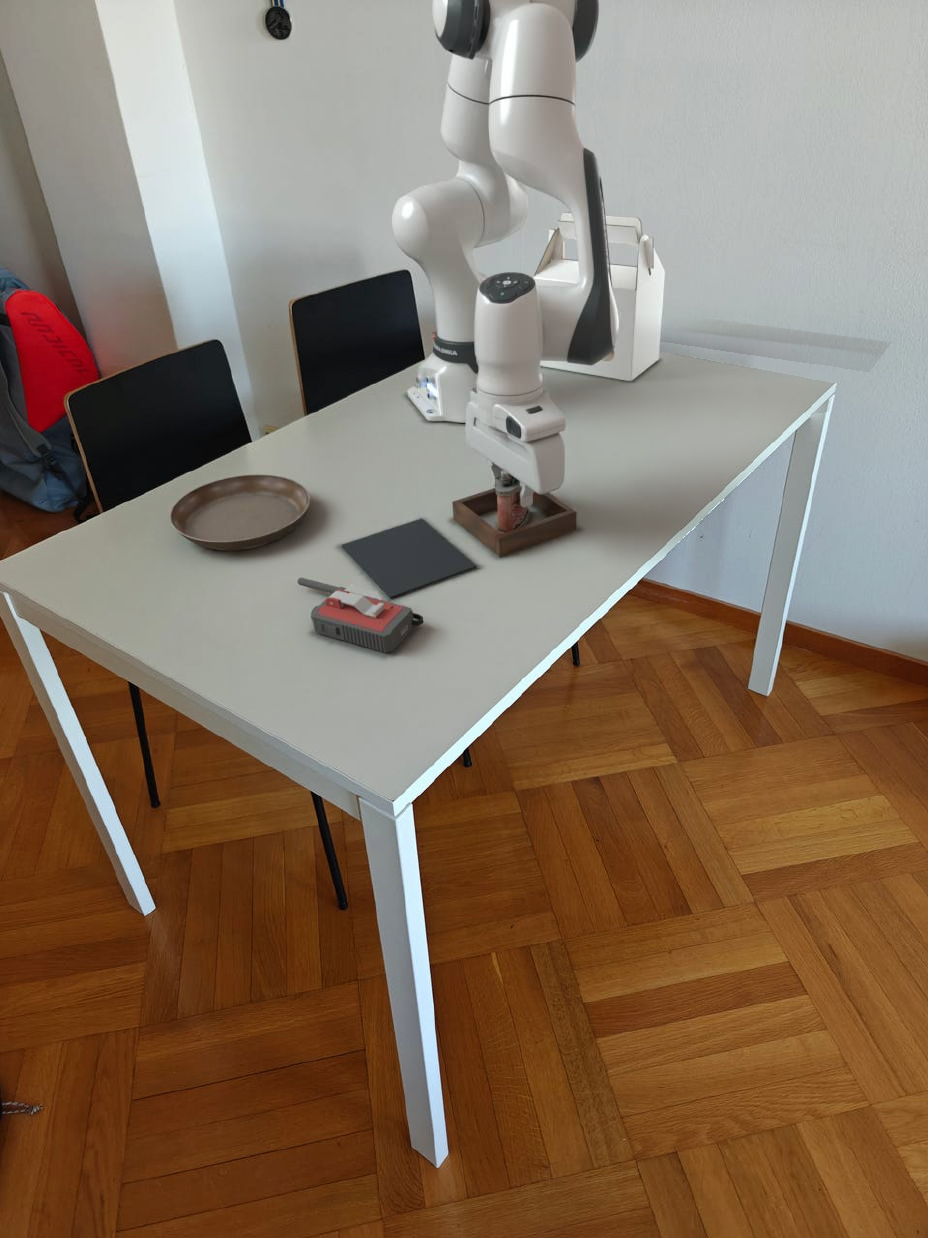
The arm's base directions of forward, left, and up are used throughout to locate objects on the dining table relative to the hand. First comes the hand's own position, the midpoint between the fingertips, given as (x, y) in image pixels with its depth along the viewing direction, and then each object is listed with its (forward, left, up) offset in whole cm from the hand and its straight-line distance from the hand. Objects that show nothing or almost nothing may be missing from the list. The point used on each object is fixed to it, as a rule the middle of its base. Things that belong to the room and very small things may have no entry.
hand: (512, 496), depth 126 cm
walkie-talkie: (+8, -30, -5) cm, 31 cm away
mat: (-1, -17, -5) cm, 18 cm away
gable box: (-46, +49, -5) cm, 67 cm away
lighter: (0, 0, -5) cm, 5 cm away
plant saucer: (-24, -33, -5) cm, 41 cm away
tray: (0, 0, -5) cm, 5 cm away
